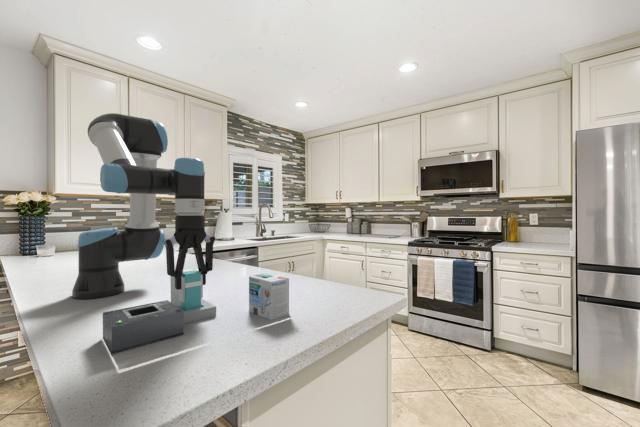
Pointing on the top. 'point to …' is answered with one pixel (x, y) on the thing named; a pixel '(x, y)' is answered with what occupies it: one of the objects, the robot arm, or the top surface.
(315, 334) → the top surface
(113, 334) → the port panel
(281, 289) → the light bulb box
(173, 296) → the small box
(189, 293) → the plug
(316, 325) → the top surface
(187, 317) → the holster
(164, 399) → the top surface
